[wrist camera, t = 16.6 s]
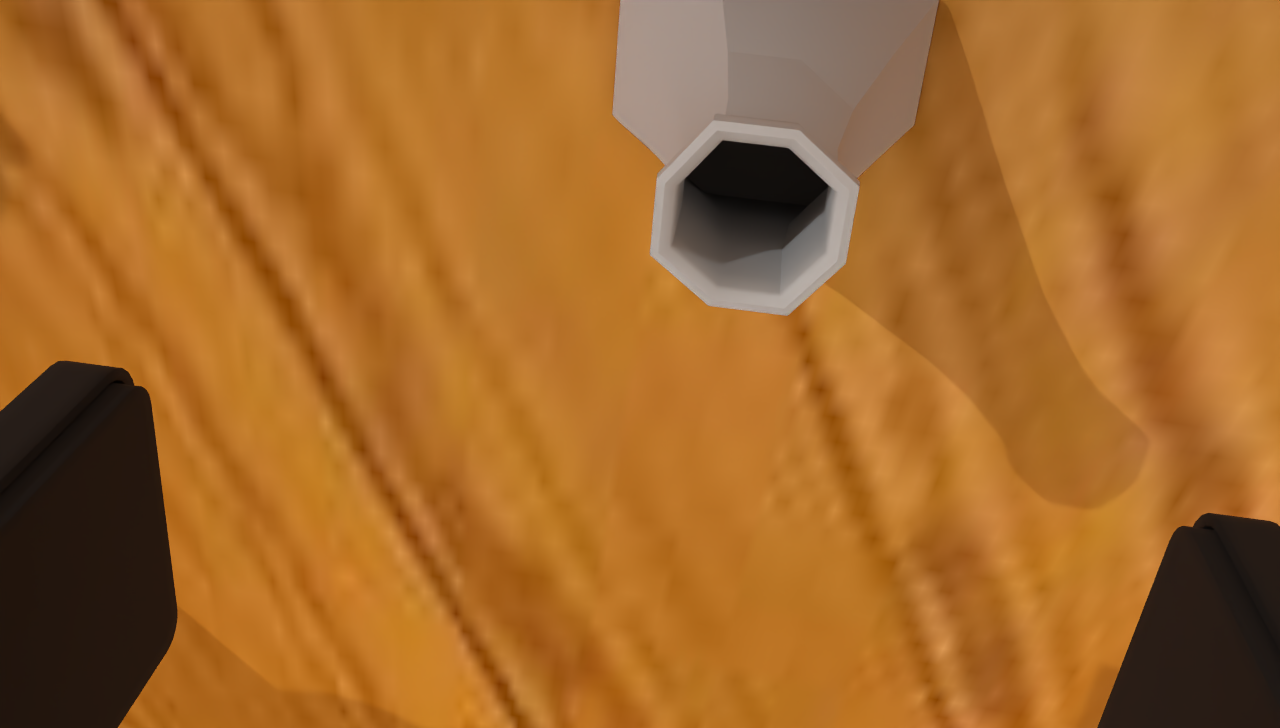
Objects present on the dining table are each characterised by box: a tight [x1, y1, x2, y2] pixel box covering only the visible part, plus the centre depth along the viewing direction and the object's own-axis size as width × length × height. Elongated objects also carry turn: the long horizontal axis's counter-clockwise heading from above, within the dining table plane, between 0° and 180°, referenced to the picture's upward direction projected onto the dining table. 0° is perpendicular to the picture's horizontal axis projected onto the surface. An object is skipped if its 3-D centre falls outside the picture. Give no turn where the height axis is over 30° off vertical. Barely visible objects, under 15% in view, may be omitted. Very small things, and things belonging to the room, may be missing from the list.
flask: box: [612, 0, 939, 316], centre depth 23 cm, size 7×7×10 cm
